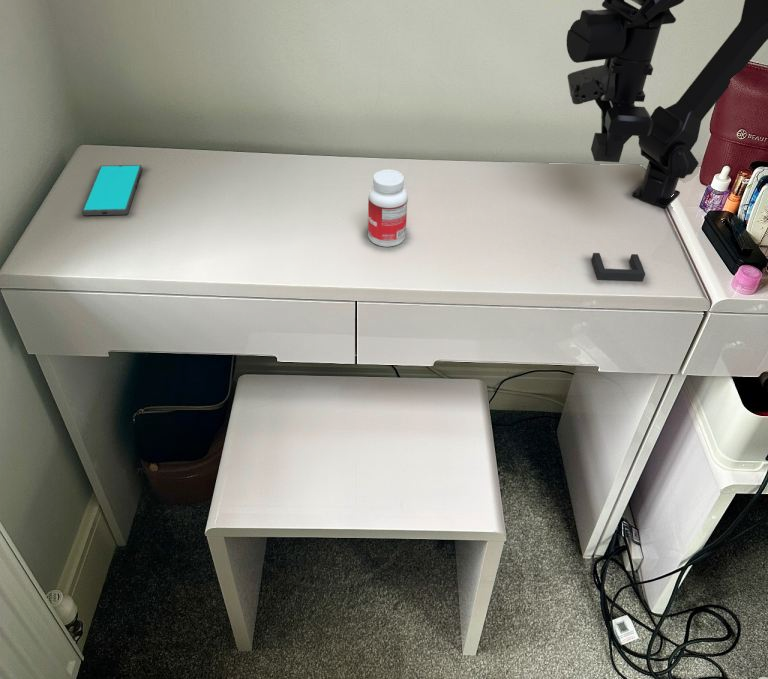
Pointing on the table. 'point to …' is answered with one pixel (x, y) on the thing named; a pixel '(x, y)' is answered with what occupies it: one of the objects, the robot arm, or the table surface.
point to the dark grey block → (603, 149)
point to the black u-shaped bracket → (618, 270)
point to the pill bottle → (387, 208)
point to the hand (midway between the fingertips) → (606, 150)
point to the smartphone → (112, 190)
